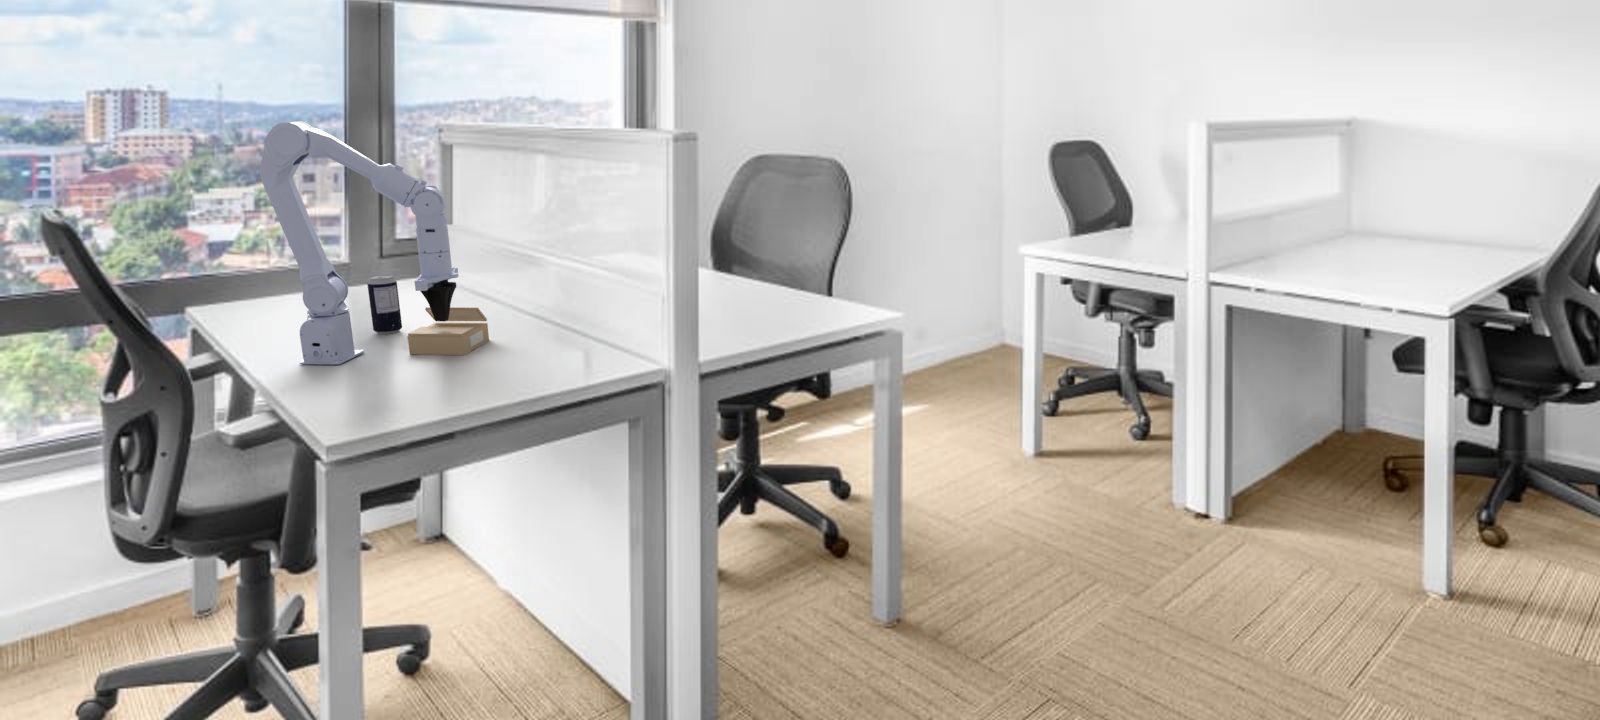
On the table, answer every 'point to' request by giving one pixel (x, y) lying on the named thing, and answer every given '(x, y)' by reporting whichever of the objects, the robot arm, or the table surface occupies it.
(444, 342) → the carton
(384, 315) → the beverage can
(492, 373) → the table surface
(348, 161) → the robot arm
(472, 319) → the flap
